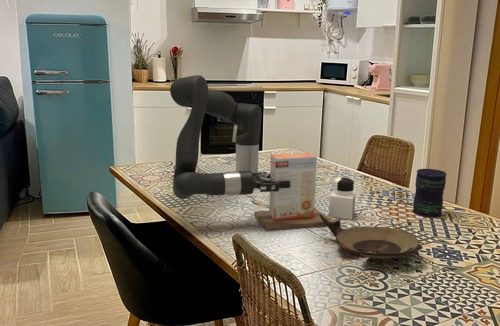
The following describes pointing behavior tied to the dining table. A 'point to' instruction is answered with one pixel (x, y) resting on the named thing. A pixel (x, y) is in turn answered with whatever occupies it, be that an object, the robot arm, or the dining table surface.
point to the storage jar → (429, 193)
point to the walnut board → (288, 221)
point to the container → (342, 199)
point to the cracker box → (293, 186)
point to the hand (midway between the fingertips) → (285, 180)
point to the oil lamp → (373, 240)
